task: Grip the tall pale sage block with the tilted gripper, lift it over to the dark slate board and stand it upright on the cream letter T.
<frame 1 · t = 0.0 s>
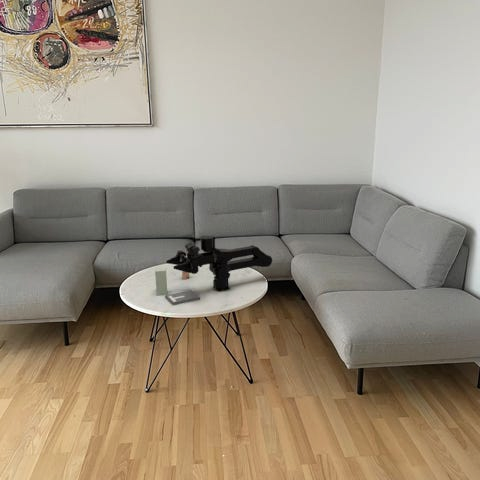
hand: (169, 264, 200), 17 cm above the table, tool horizontal, fingers open, 9 cm apart
grandmother figurine: (185, 278, 230), on the table
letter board: (182, 298, 205), on the table
sage block: (162, 293, 211), on the table
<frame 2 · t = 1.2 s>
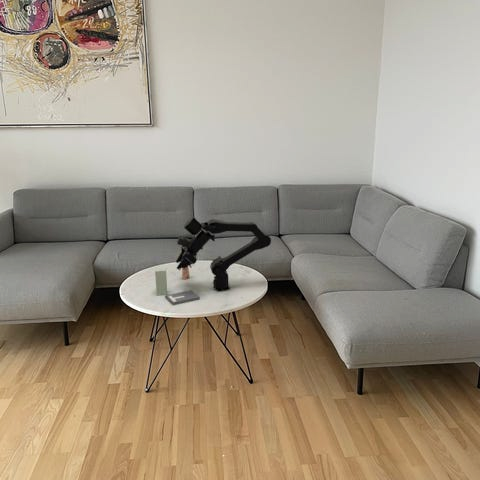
hand: (176, 265, 209), 13 cm above the table, tool tilted 45°, fingers open, 9 cm apart
nothing on the table moved.
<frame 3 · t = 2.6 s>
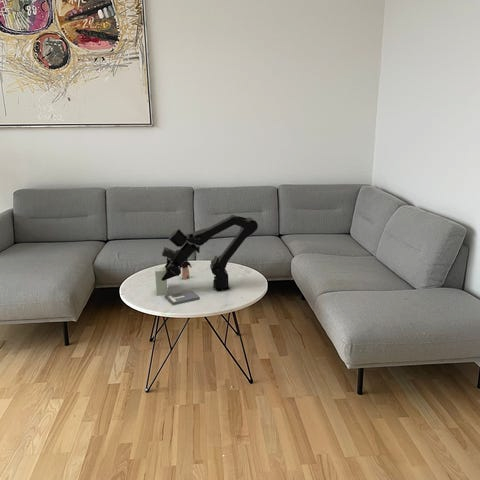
hand: (161, 276, 209), 8 cm above the table, tool tilted 45°, fingers open, 9 cm apart
nothing on the table moved.
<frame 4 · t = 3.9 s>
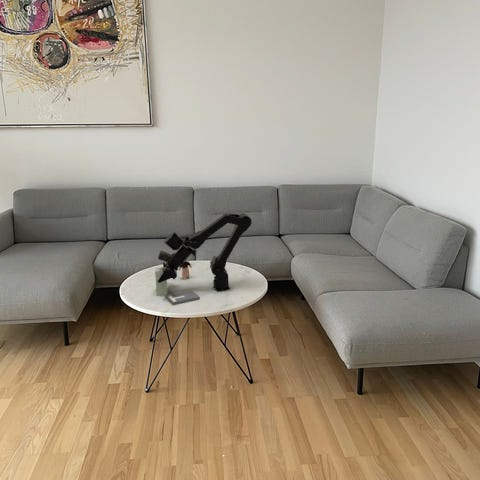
hand: (158, 280, 209), 7 cm above the table, tool tilted 45°, fingers closed on sage block, 5 cm apart
sage block: (162, 293, 211), on the table, touching gripper
everything else where it was.
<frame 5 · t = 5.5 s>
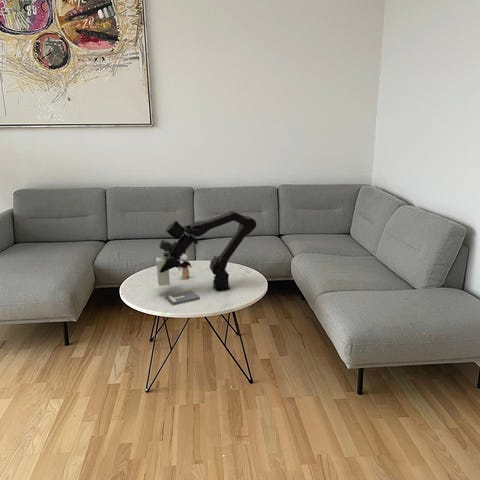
hand: (159, 270, 205), 12 cm above the table, tool tilted 45°, fingers closed on sage block, 5 cm apart
sage block: (163, 283, 208), point 6 cm above the table, touching gripper
everything else where it was.
when the fingers open (9 cm above the table, at t = 7.5 s): sage block stays where it is, resting on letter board.
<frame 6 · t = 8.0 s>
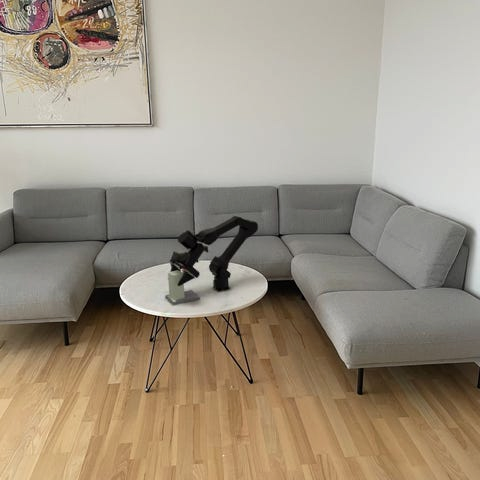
hand: (173, 282, 199), 9 cm above the table, tool tilted 45°, fingers open, 9 cm apart
sage block: (176, 297, 202), point 1 cm above the table, touching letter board
everything else where it was.
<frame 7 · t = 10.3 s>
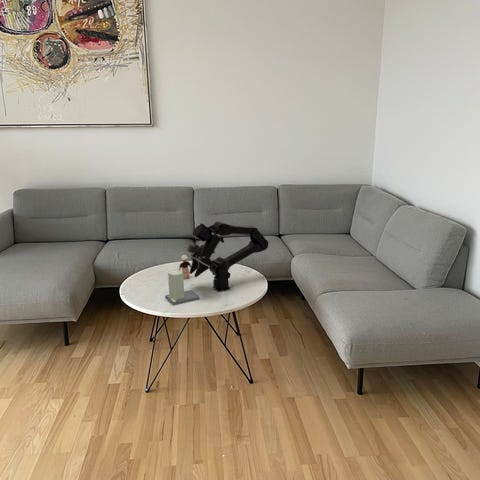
hand: (192, 275, 206), 10 cm above the table, tool tilted 40°, fingers open, 9 cm apart
nothing on the table moved.
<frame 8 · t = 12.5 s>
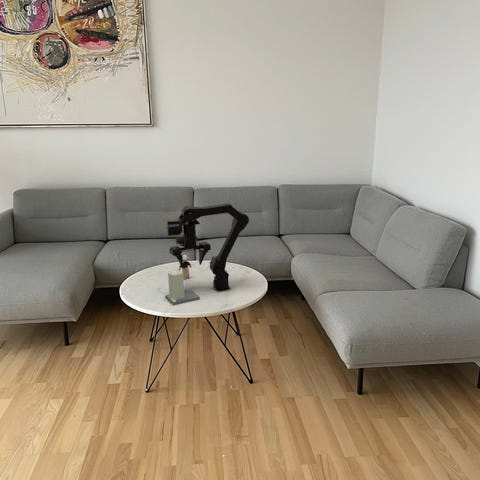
hand: (191, 266, 209), 13 cm above the table, tool pointing down, fingers open, 9 cm apart
nothing on the table moved.
at the end: sage block 0.0 cm from the target spot, point 1.4 cm above the table; sage block tilted 0°; the gripper is holding nothing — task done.
